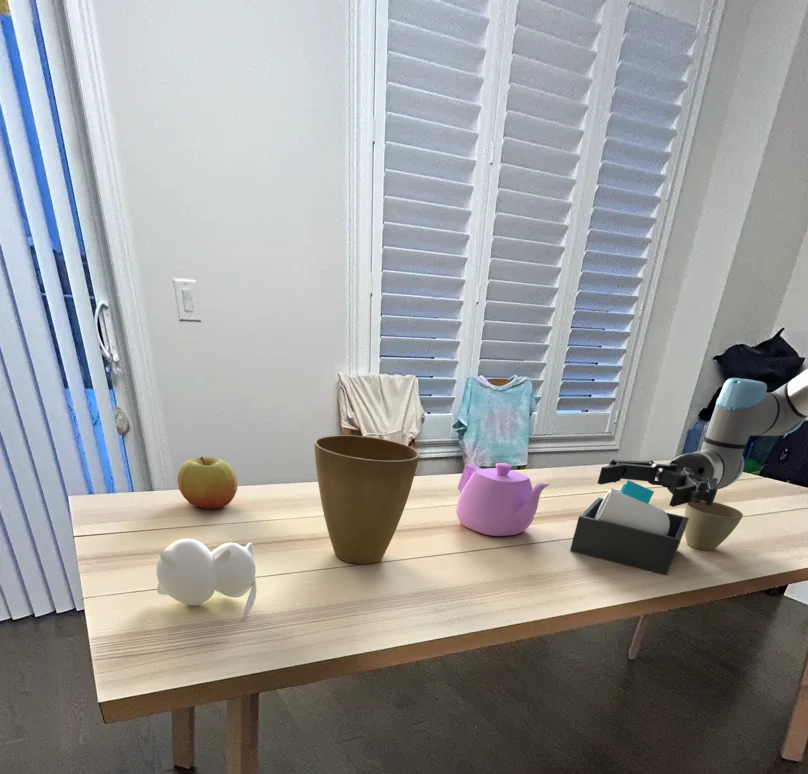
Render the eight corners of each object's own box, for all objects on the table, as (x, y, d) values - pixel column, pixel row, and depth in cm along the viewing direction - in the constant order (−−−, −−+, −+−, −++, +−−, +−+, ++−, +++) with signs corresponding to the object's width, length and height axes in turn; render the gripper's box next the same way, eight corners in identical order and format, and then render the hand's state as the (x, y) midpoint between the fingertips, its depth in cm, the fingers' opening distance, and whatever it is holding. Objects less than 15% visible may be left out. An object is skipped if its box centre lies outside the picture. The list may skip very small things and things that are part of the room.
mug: (687, 500, 104) (620, 471, 105) (663, 552, 105) (596, 524, 106) (664, 516, 116) (604, 490, 116) (642, 562, 117) (582, 537, 117)
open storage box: (677, 549, 117) (689, 517, 114) (666, 575, 105) (679, 540, 102) (589, 528, 122) (598, 497, 119) (569, 550, 110) (578, 516, 107)
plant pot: (373, 583, 90) (382, 465, 81) (291, 554, 95) (291, 441, 86) (425, 556, 101) (438, 450, 92) (349, 532, 106) (354, 429, 97)
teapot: (510, 551, 107) (524, 484, 100) (432, 515, 119) (440, 453, 112) (559, 540, 114) (575, 477, 108) (481, 507, 126) (491, 449, 120)
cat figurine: (253, 520, 78) (151, 523, 72) (277, 592, 75) (172, 601, 69) (242, 563, 85) (148, 569, 80) (263, 631, 82) (167, 641, 77)
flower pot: (669, 545, 119) (683, 507, 115) (677, 533, 126) (690, 496, 122) (725, 559, 115) (741, 520, 111) (729, 545, 123) (745, 508, 119)
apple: (174, 497, 112) (169, 449, 107) (229, 495, 116) (227, 449, 111) (187, 515, 105) (182, 465, 100) (245, 512, 109) (243, 463, 105)
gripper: (750, 513, 113) (698, 531, 100) (627, 477, 127) (568, 489, 114) (768, 470, 109) (716, 482, 96) (639, 437, 123) (579, 445, 110)
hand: (636, 486), depth 105 cm, fingers open, 13 cm apart
